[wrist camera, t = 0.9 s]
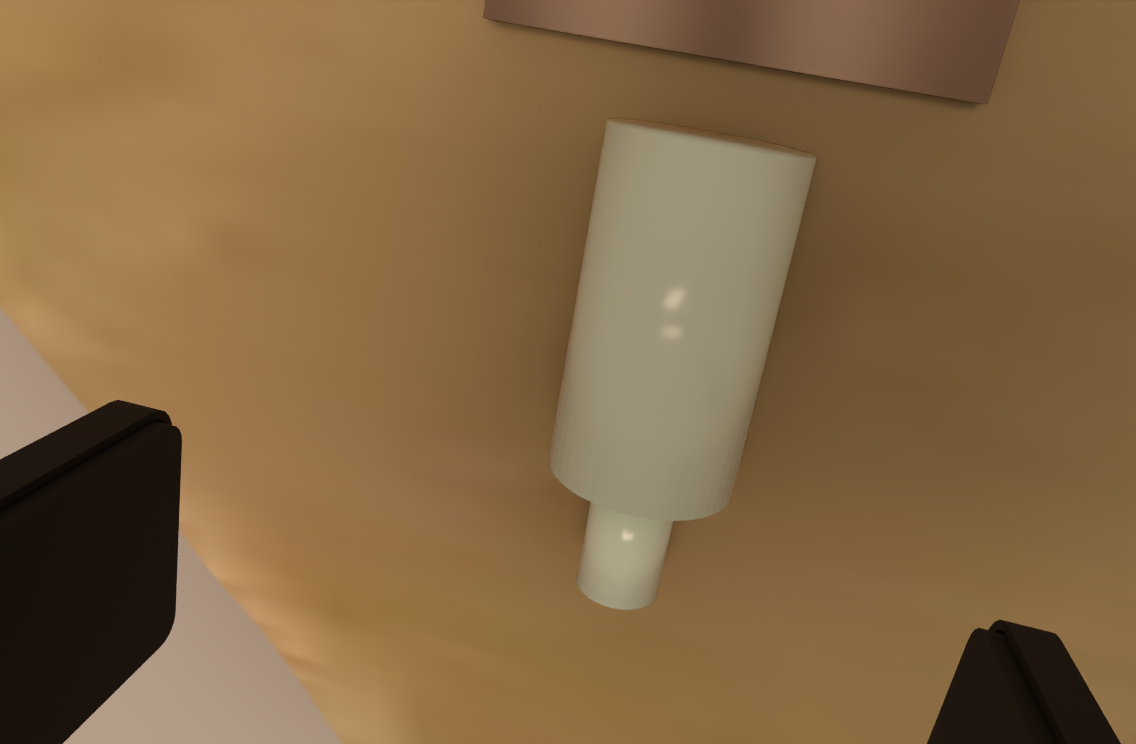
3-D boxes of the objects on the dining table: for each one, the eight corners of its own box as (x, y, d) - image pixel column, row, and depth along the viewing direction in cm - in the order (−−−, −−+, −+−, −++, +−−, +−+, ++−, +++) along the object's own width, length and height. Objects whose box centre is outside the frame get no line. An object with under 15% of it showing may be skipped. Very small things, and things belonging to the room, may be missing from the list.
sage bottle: (619, 114, 27) (593, 124, 22) (807, 148, 26) (827, 167, 21) (547, 524, 32) (511, 614, 26) (705, 560, 31) (700, 659, 26)
